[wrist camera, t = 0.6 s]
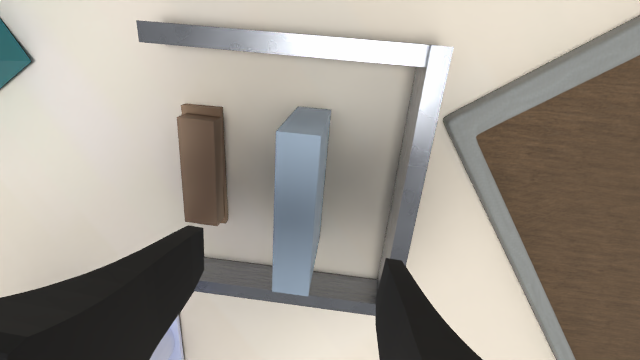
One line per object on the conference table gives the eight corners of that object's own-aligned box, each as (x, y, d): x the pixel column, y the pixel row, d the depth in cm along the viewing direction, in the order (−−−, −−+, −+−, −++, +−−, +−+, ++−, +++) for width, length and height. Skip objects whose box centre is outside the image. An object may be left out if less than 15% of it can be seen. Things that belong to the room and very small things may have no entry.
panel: (291, 233, 24) (271, 291, 18) (298, 106, 20) (275, 131, 15) (319, 236, 24) (308, 296, 18) (331, 109, 20) (321, 136, 15)
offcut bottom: (199, 211, 24) (192, 219, 23) (190, 101, 21) (180, 105, 20) (231, 215, 24) (225, 223, 23) (226, 105, 21) (219, 108, 20)
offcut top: (193, 213, 23) (185, 221, 22) (186, 113, 20) (176, 117, 19) (224, 217, 23) (217, 226, 22) (221, 117, 20) (213, 121, 19)
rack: (186, 265, 26) (166, 292, 23) (163, 22, 19) (129, 19, 16) (389, 292, 25) (392, 323, 22) (438, 45, 18) (453, 47, 15)
